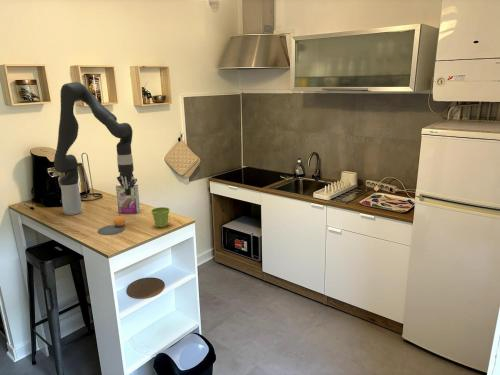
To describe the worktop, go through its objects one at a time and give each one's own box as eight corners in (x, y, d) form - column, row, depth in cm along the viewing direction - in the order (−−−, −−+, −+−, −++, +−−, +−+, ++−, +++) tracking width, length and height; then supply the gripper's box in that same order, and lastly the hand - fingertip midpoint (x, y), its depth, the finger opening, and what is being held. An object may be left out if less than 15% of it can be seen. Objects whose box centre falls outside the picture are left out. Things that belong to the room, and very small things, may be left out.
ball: (120, 215, 199) (121, 226, 199) (110, 217, 195) (112, 227, 195) (126, 214, 196) (128, 225, 196) (116, 216, 191) (118, 227, 191)
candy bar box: (118, 213, 215) (115, 185, 211) (121, 210, 220) (119, 183, 216) (137, 213, 214) (134, 186, 210) (140, 211, 219) (138, 183, 215)
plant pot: (151, 223, 199) (150, 208, 197) (169, 221, 202) (168, 206, 200) (153, 230, 191) (152, 213, 188) (172, 227, 194) (171, 211, 192)
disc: (92, 231, 189) (91, 231, 189) (112, 223, 200) (112, 223, 199) (109, 236, 182) (109, 236, 182) (130, 228, 193) (130, 227, 193)
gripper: (110, 162, 193) (113, 195, 198) (128, 165, 187) (132, 198, 191) (121, 160, 199) (125, 191, 204) (140, 162, 193) (142, 195, 198)
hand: (128, 195), depth 198 cm, fingers closed
